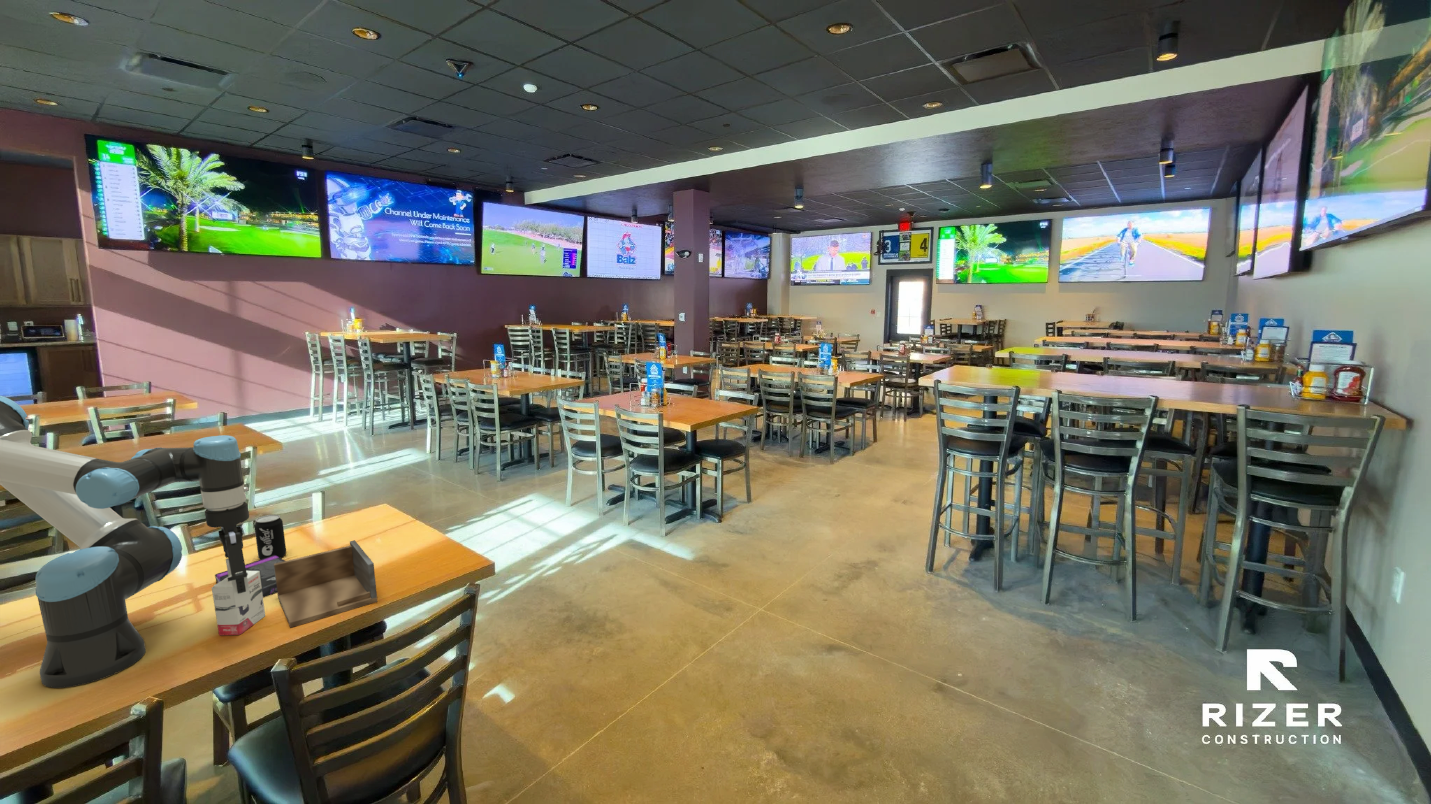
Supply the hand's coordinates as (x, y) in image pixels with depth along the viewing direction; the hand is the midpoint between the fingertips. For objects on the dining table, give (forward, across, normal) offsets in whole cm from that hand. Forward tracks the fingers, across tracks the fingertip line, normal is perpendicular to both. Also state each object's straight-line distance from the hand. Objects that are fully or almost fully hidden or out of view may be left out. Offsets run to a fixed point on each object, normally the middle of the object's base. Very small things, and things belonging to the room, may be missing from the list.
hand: (240, 594), depth 139 cm
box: (+8, +23, -6) cm, 26 cm away
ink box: (+8, 0, 0) cm, 8 cm away
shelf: (+8, +1, -17) cm, 18 cm away
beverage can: (+8, +40, -10) cm, 42 cm away
